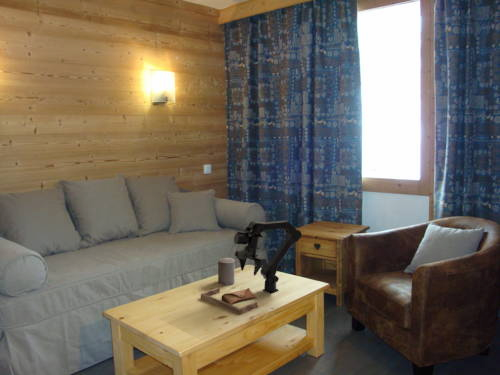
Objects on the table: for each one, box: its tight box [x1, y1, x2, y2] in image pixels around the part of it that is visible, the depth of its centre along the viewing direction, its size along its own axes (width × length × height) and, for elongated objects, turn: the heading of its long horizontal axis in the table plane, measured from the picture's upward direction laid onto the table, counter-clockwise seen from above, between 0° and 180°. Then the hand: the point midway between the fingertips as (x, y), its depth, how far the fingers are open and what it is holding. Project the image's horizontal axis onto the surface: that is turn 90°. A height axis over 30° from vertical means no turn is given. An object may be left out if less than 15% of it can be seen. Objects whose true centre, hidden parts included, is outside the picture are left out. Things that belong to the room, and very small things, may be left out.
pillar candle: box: [217, 257, 236, 286], centre depth 266 cm, size 10×10×15 cm
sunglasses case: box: [221, 287, 257, 305], centre depth 243 cm, size 18×7×7 cm, turn 126°
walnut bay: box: [200, 287, 258, 315], centre depth 238 cm, size 13×29×2 cm, turn 47°
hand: (248, 272), depth 247 cm, fingers open, 9 cm apart
